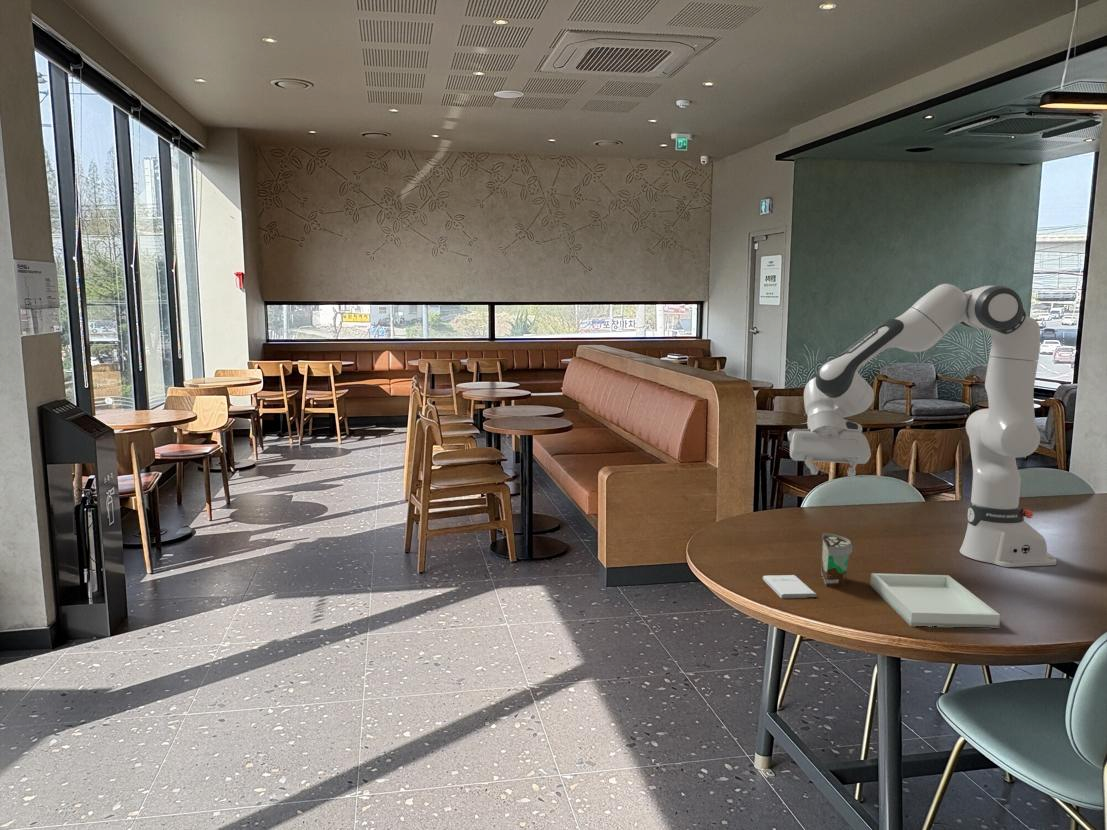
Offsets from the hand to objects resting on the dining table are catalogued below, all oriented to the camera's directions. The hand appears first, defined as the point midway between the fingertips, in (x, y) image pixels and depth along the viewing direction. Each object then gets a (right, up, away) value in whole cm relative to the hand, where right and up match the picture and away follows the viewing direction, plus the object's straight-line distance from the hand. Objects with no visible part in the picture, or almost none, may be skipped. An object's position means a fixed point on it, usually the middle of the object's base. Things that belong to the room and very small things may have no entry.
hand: (833, 474), depth 205 cm
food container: (-3, -25, -11) cm, 28 cm away
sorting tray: (+12, -27, -27) cm, 40 cm away
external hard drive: (-16, -26, -17) cm, 35 cm away
